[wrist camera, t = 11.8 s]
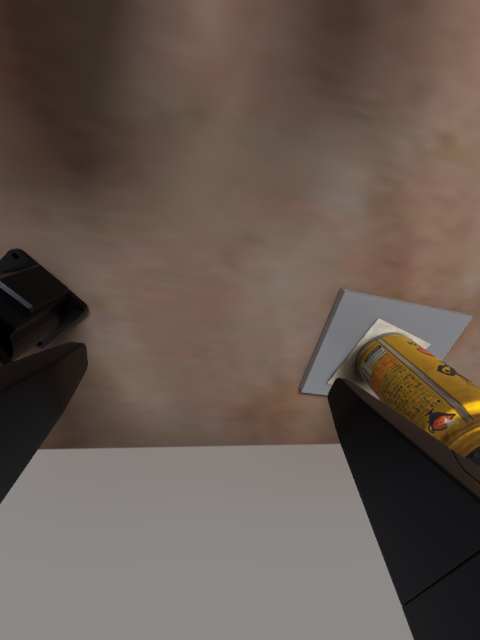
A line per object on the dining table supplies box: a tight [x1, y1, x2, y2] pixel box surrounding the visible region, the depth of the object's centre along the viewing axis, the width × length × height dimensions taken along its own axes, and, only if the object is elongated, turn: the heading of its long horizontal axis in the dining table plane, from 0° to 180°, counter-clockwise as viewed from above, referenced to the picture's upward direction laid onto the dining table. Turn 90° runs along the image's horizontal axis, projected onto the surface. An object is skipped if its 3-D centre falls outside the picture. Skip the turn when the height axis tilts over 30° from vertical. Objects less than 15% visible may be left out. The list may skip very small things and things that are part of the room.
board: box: [299, 288, 473, 401], centre depth 25 cm, size 14×12×1 cm
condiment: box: [328, 319, 480, 468], centre depth 19 cm, size 7×8×12 cm
